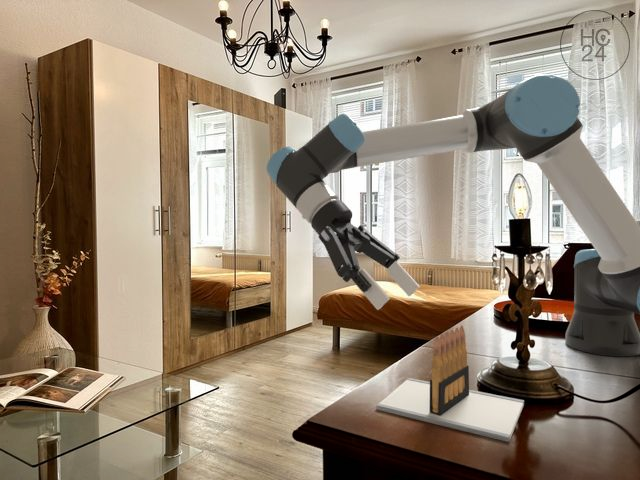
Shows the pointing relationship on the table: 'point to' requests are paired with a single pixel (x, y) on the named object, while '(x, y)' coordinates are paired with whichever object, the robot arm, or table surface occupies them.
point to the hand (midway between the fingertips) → (400, 297)
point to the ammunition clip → (449, 372)
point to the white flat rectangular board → (457, 410)
